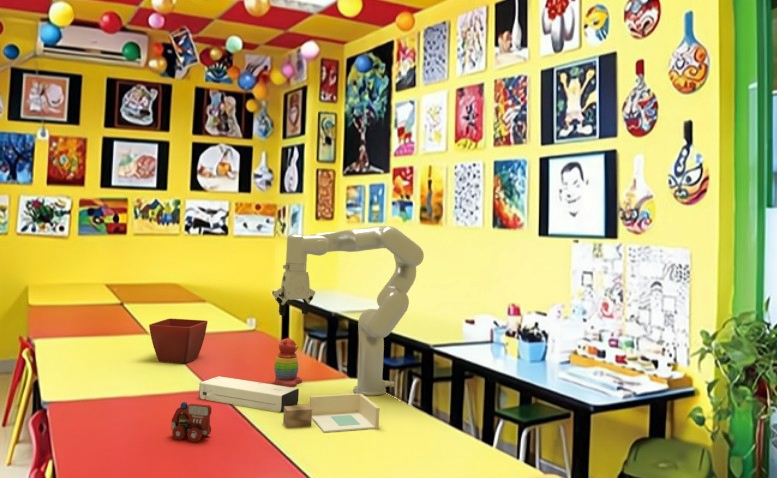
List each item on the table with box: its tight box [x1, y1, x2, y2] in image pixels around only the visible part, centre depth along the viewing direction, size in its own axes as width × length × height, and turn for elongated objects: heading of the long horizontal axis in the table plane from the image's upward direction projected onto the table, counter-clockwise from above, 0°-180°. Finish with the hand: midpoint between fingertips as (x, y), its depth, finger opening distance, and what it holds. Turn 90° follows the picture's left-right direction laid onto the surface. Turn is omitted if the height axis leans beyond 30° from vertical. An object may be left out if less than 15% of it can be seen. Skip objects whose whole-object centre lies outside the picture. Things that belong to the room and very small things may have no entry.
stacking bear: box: [273, 337, 303, 388], centre depth 266 cm, size 11×10×18 cm
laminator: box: [198, 375, 300, 413], centre depth 238 cm, size 34×12×6 cm, turn 68°
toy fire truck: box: [171, 401, 212, 443], centre depth 199 cm, size 7×12×10 cm, turn 74°
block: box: [282, 404, 313, 429], centre depth 215 cm, size 8×5×6 cm, turn 110°
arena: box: [309, 393, 380, 434], centre depth 220 cm, size 18×18×7 cm
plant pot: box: [148, 318, 208, 364], centre depth 299 cm, size 19×19×17 cm
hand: (293, 314), depth 248 cm, fingers open, 9 cm apart
